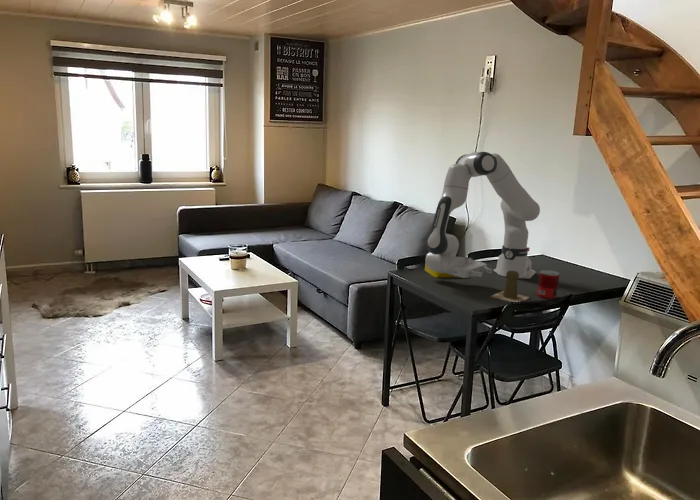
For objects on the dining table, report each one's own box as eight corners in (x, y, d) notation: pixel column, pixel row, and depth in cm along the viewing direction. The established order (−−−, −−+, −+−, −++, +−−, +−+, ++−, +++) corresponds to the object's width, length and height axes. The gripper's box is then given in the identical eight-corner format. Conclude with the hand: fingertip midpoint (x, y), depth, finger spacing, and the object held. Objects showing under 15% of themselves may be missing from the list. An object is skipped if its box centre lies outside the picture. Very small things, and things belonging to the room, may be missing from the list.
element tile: (451, 270, 290) (452, 260, 289) (464, 277, 276) (465, 268, 275) (423, 270, 286) (424, 260, 285) (435, 278, 272) (435, 268, 271)
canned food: (557, 300, 246) (560, 275, 244) (537, 298, 248) (541, 273, 245) (554, 295, 253) (558, 271, 251) (535, 293, 255) (539, 269, 253)
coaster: (503, 292, 254) (503, 290, 253) (529, 298, 246) (529, 296, 246) (490, 297, 244) (490, 295, 244) (517, 304, 237) (517, 302, 237)
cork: (500, 294, 248) (503, 269, 245) (514, 294, 248) (517, 269, 246) (505, 298, 242) (508, 272, 239) (519, 298, 242) (522, 273, 240)
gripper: (447, 263, 251) (476, 269, 242) (469, 257, 266) (497, 262, 258) (446, 277, 252) (474, 284, 243) (468, 270, 268) (496, 276, 259)
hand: (486, 273), depth 251 cm, fingers open, 8 cm apart
